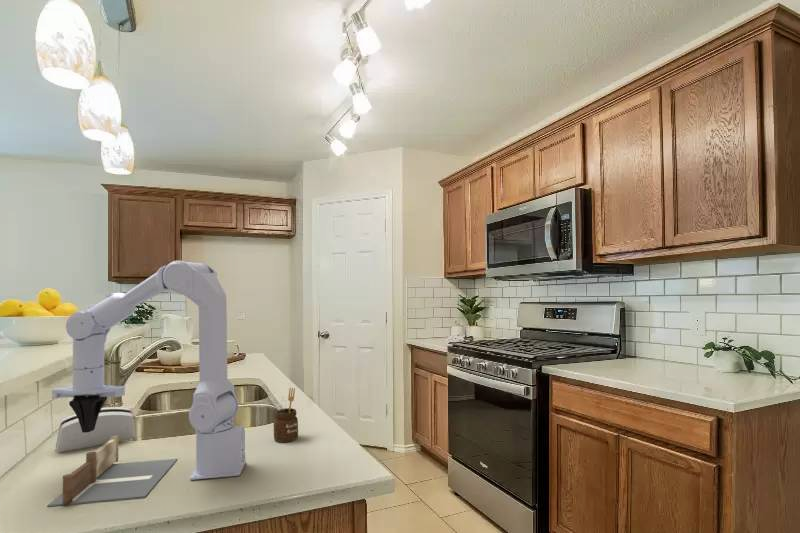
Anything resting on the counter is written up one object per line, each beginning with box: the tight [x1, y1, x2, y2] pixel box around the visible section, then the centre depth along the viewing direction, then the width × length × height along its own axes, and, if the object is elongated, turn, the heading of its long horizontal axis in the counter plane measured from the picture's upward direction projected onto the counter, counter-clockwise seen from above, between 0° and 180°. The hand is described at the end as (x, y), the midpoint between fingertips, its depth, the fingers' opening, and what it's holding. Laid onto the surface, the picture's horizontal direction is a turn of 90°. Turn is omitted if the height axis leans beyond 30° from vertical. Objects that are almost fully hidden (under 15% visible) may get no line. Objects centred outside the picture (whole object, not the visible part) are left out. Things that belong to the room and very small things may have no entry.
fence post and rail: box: [62, 451, 96, 507], centre depth 87 cm, size 2×10×6 cm, turn 9°
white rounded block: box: [55, 406, 136, 454], centre depth 117 cm, size 17×5×10 cm, turn 128°
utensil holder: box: [273, 387, 299, 444], centre depth 116 cm, size 6×6×12 cm
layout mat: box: [47, 458, 178, 508], centre depth 93 cm, size 16×19×1 cm
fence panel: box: [93, 435, 119, 477], centre depth 98 cm, size 10×1×5 cm, turn 10°
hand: (88, 431), depth 100 cm, fingers closed
